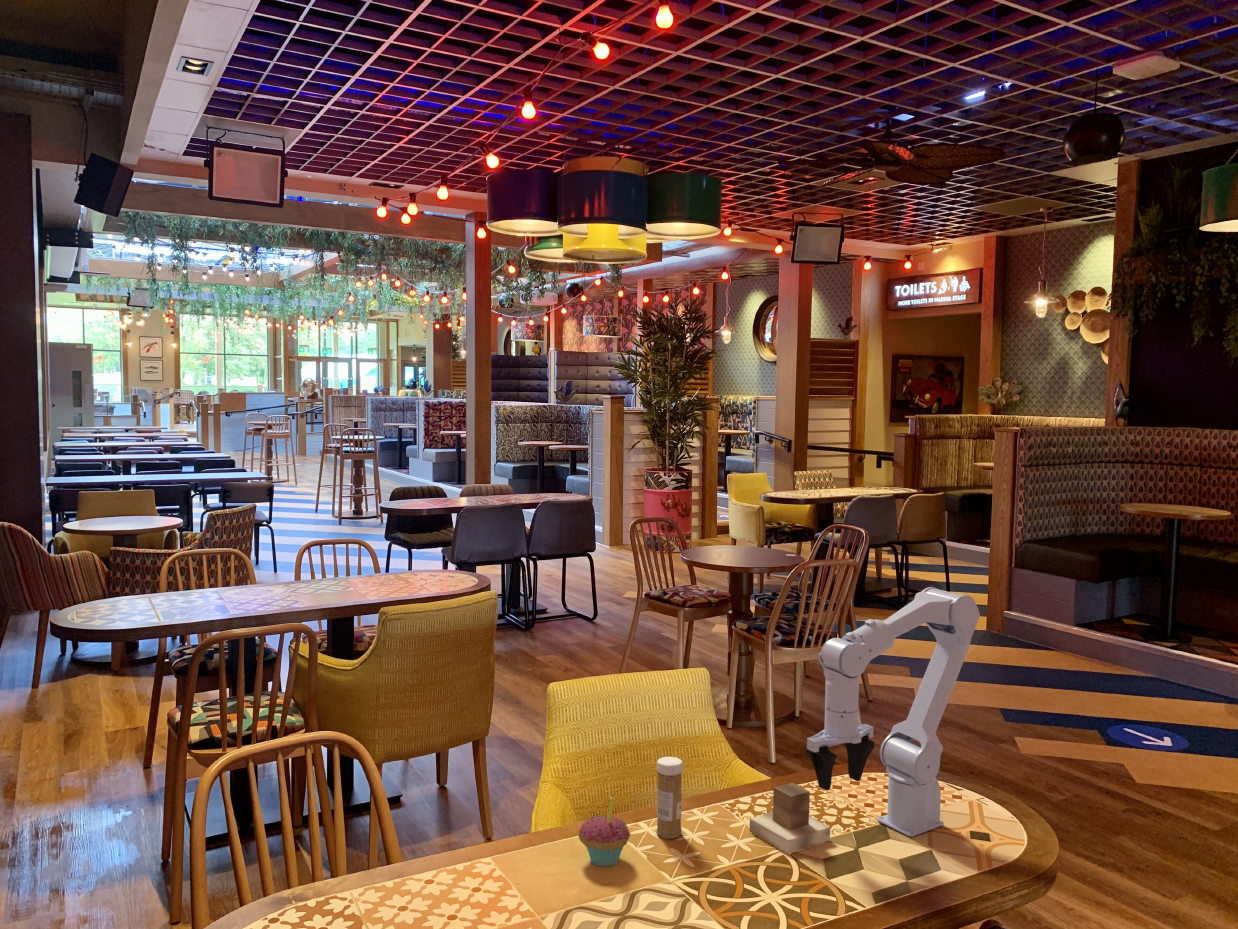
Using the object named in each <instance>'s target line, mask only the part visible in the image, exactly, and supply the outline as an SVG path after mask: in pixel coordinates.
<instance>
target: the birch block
mask: <svg viewBox="0 0 1238 929" xmlns="http://www.w3.org/2000/svg"><path fill="white" fill-rule="evenodd" d="M750 832H752V833H753V834H752V833H751V834H752V835H754V834H755V835H754V836H756V837H757V836H759V837H760V838H759V837H758V838H759V839H761V838H762V839H764V840H765V841H764V840H763V841H764V842H766V841H767V842H769V843H770V844H769V843H768V844H769V845H771V844H772V845H774V846H776V847H777V848H779V849H780V850H779V849H778V850H779V851H781V850H782V851H783V852H782V851H781V852H782V853H784V852H785V853H784V854H786V853H787V854H789V853H792V854H794V853H793V852H795V853H797V852H796V851H798V852H801V851H803V850H802V849H804V850H806V848H807V849H809V848H808V847H810V848H812V847H811V846H813V847H815V846H814V845H816V846H818V845H817V844H819V845H821V843H822V844H824V842H825V843H827V842H826V841H828V842H830V841H831V827H830V826H829V825H827V824H825V823H823V822H822V821H819V820H818V819H815V818H813V817H811V816H810V815H809V825H805V826H802V827H798V828H795V829H792V830H789V829H787V828H785V827H784V826H782V825H780V824H778V823H777V822H775V821H773V811H771V812H767V813H765V814H760V815H757V816H754V817H751V818H749V833H750ZM762 839H761V840H762ZM767 842H766V843H767ZM772 845H771V846H772ZM774 846H773V847H774ZM776 847H775V848H776ZM777 848H776V849H777ZM800 850H801V851H800ZM787 854H786V855H787ZM789 855H790V854H789Z"/></svg>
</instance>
